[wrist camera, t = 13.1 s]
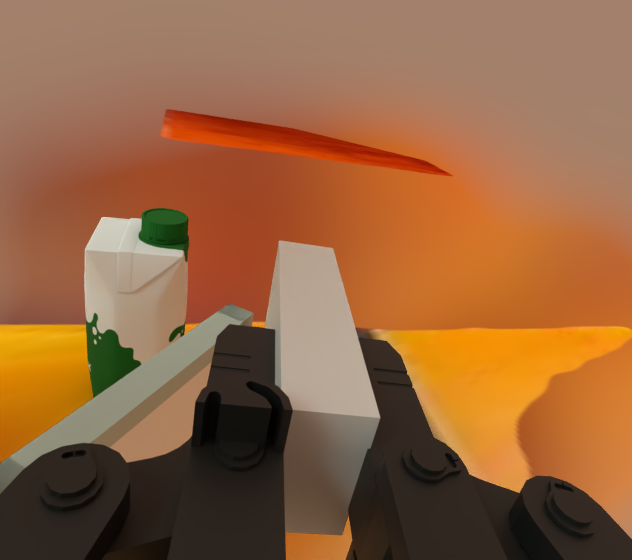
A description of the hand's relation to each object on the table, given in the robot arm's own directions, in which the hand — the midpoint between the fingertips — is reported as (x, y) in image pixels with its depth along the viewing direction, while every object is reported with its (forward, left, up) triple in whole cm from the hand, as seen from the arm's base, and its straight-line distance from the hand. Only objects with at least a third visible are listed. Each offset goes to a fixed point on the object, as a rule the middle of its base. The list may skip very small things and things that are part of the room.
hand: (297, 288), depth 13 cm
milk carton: (-24, +19, -30) cm, 43 cm away
